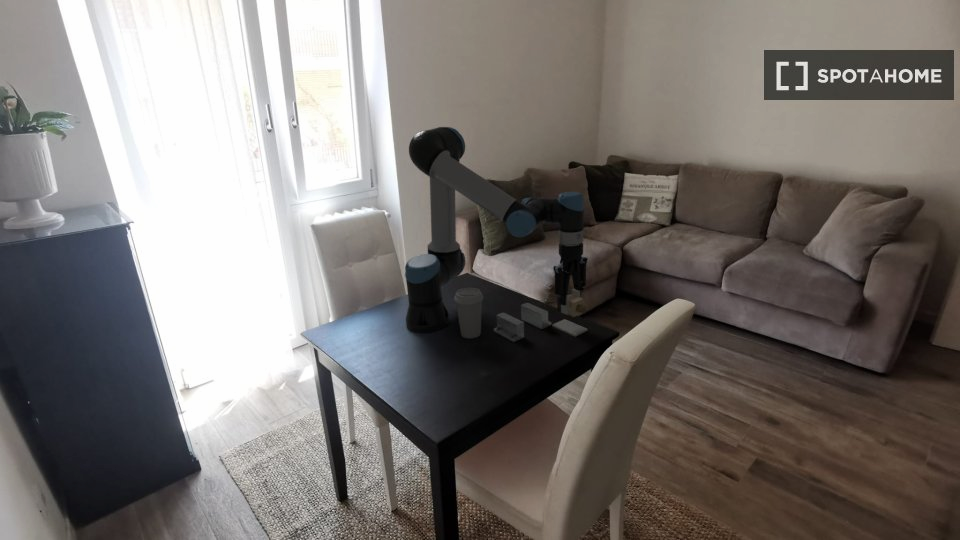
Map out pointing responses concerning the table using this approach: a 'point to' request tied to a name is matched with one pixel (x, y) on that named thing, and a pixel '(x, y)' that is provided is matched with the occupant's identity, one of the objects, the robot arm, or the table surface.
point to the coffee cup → (469, 311)
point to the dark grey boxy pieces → (521, 322)
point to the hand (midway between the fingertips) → (570, 310)
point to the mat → (570, 327)
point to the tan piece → (573, 305)
